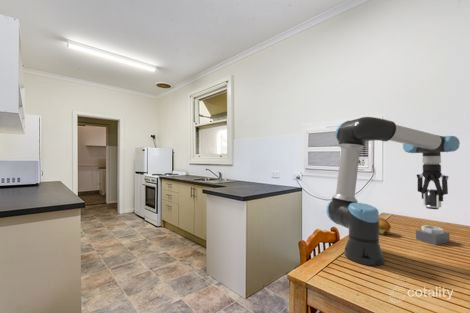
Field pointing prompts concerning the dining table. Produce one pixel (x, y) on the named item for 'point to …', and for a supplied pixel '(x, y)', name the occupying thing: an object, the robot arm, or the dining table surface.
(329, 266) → the dining table surface
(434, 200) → the lens
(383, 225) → the orange brown stemmed fruit
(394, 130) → the robot arm
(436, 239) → the block
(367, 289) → the dining table surface
